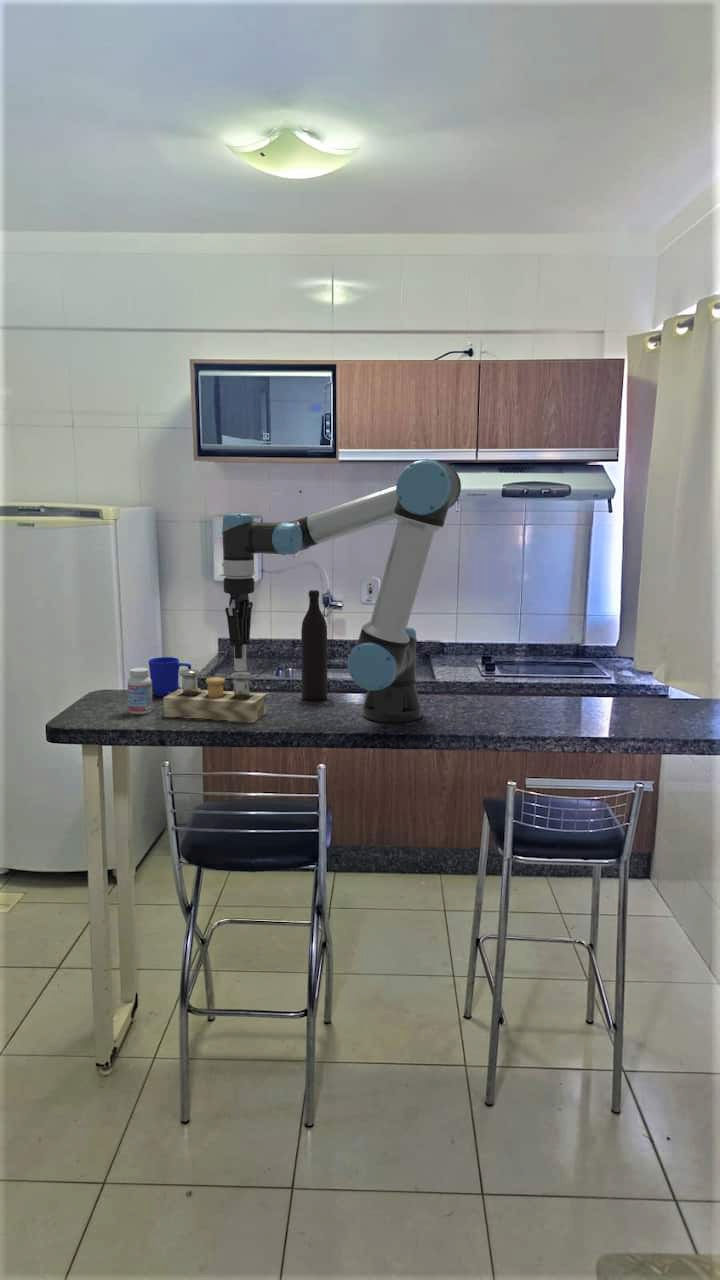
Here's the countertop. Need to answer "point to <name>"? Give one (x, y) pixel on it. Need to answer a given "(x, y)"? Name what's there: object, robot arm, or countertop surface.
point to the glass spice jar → (241, 685)
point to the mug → (165, 675)
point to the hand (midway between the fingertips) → (240, 670)
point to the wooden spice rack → (216, 706)
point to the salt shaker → (189, 682)
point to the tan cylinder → (215, 687)
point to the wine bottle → (314, 651)
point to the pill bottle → (139, 691)
